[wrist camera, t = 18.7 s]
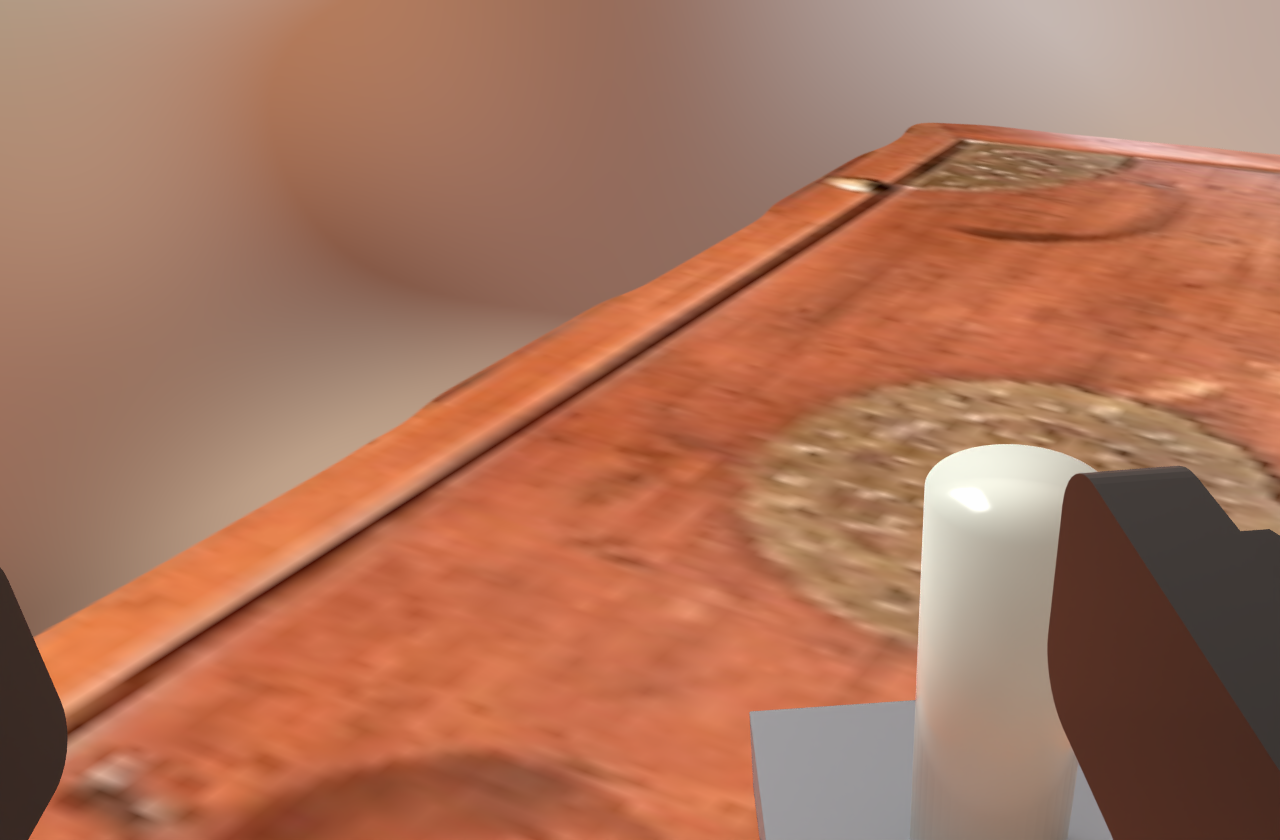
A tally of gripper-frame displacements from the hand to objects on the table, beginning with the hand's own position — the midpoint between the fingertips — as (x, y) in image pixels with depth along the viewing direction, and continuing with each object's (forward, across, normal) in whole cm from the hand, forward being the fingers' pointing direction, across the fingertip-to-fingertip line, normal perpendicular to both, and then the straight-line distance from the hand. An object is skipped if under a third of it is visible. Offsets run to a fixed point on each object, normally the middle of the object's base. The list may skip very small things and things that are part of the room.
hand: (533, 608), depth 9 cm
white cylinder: (+19, -10, +26) cm, 34 cm away
